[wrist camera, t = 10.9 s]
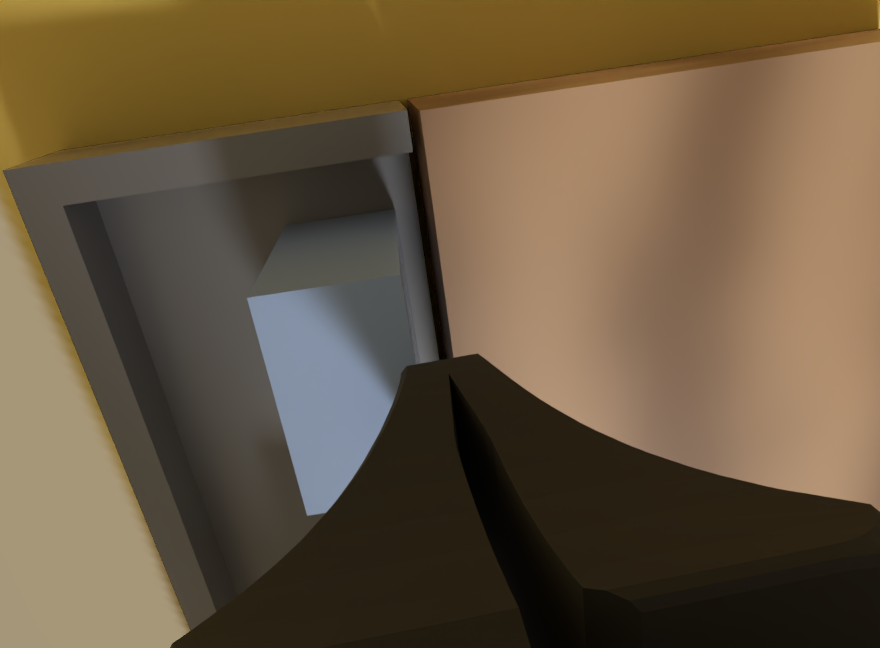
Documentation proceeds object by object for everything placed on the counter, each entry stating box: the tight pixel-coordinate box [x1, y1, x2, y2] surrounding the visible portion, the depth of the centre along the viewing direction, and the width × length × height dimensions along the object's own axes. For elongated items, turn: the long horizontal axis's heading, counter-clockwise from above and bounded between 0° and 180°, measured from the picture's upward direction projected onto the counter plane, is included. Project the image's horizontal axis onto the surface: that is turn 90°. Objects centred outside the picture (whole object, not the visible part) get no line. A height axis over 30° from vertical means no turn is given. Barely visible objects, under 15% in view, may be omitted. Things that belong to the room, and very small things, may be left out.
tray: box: [3, 100, 439, 630], centre depth 17 cm, size 8×20×2 cm, turn 7°
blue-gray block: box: [247, 209, 420, 516], centre depth 13 cm, size 4×4×2 cm
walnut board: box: [407, 29, 880, 511], centre depth 18 cm, size 12×20×3 cm, turn 7°
